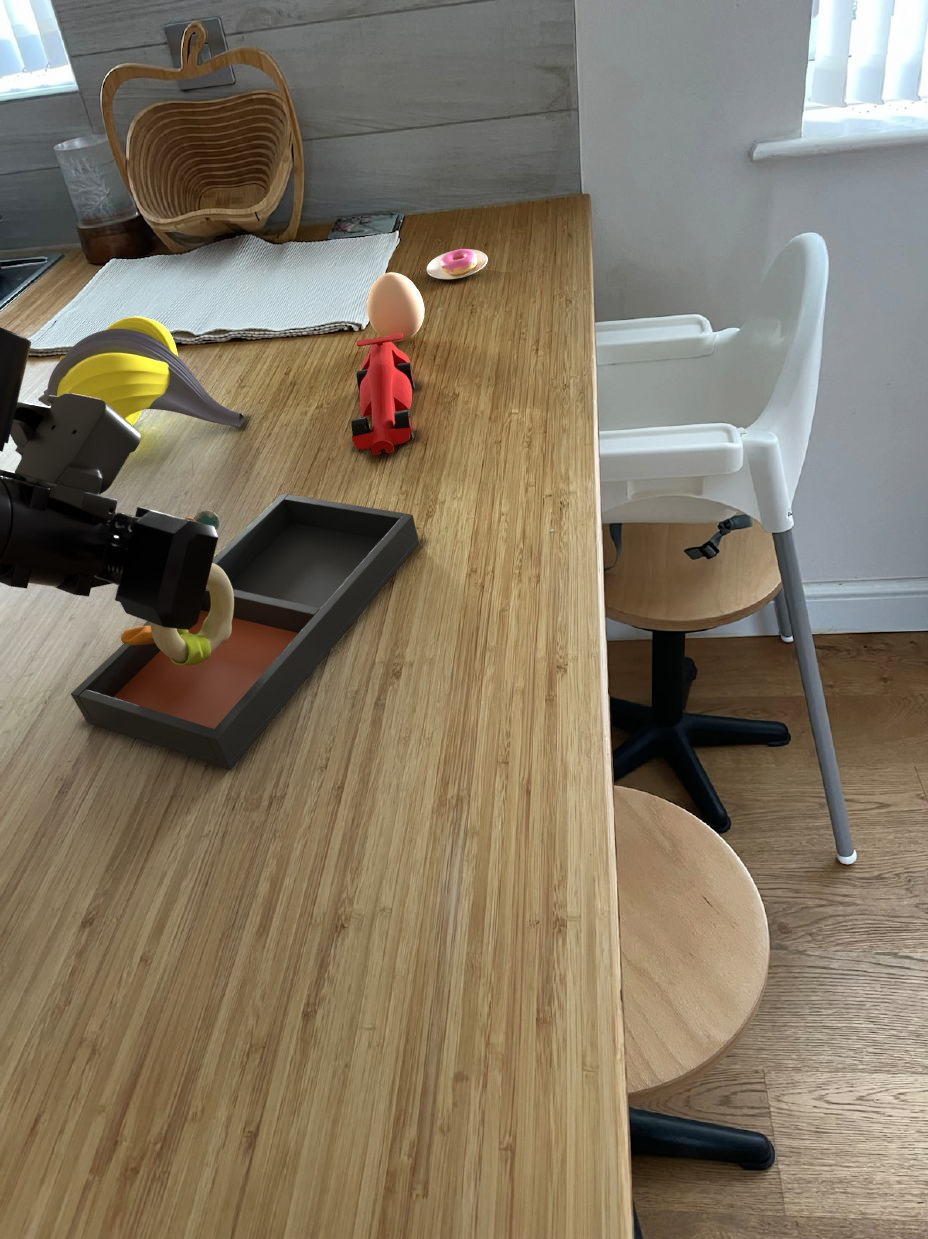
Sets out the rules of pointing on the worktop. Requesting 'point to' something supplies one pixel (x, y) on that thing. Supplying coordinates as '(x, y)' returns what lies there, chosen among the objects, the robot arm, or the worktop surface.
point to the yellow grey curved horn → (135, 374)
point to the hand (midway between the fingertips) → (193, 563)
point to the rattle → (215, 626)
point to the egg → (395, 306)
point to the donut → (457, 264)
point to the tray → (255, 629)
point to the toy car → (384, 396)
